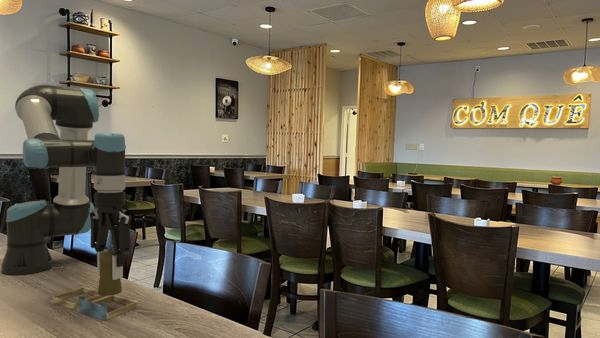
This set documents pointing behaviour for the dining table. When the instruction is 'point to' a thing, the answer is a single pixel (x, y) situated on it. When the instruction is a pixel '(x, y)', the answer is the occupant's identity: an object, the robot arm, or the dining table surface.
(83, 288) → the caddy
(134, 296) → the dining table surface
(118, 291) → the cork
